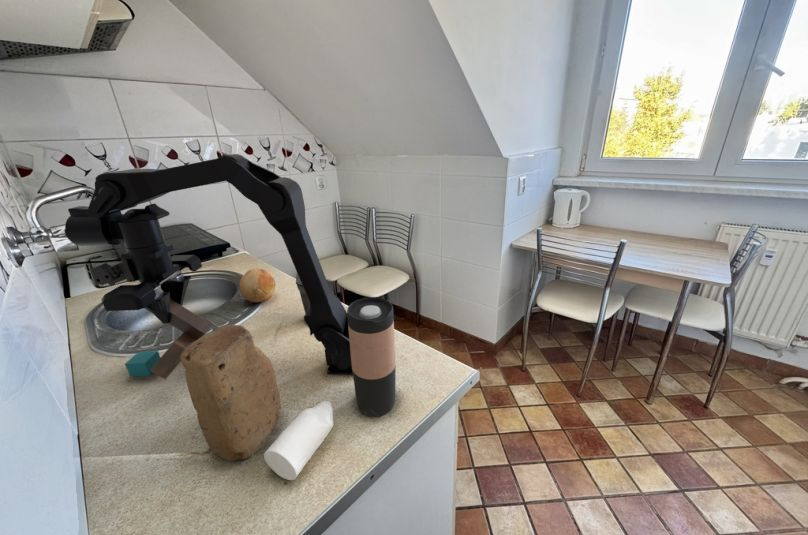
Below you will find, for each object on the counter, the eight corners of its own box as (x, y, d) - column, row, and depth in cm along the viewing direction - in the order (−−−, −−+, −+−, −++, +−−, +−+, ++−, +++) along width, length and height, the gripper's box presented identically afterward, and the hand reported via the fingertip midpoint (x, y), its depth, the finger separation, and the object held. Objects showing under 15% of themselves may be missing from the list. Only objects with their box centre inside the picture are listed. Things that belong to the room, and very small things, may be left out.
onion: (244, 312, 91) (237, 279, 87) (241, 297, 99) (234, 267, 95) (280, 303, 95) (274, 272, 91) (275, 290, 103) (269, 261, 99)
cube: (157, 350, 69) (138, 351, 68) (144, 363, 65) (124, 363, 65) (163, 365, 70) (144, 366, 70) (151, 378, 66) (131, 379, 66)
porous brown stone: (238, 473, 47) (203, 365, 40) (205, 454, 50) (166, 350, 43) (291, 418, 56) (270, 321, 49) (260, 405, 59) (236, 311, 52)
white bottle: (345, 421, 56) (342, 397, 53) (298, 486, 46) (292, 459, 43) (317, 410, 58) (313, 386, 56) (267, 470, 48) (259, 443, 46)
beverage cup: (322, 327, 83) (313, 255, 75) (296, 325, 84) (284, 253, 76) (334, 313, 89) (326, 245, 81) (309, 311, 90) (299, 243, 83)
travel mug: (363, 384, 64) (355, 295, 56) (400, 389, 62) (398, 298, 55) (349, 414, 57) (338, 318, 49) (391, 421, 56) (387, 322, 48)
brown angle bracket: (220, 317, 69) (163, 280, 65) (196, 343, 60) (129, 302, 57) (191, 350, 72) (135, 316, 68) (165, 379, 63) (99, 342, 60)
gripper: (137, 230, 66) (161, 297, 72) (47, 265, 48) (89, 349, 55) (192, 228, 66) (212, 295, 72) (123, 262, 49) (156, 347, 55)
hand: (172, 318), depth 63 cm, fingers closed on brown angle bracket, 3 cm apart
